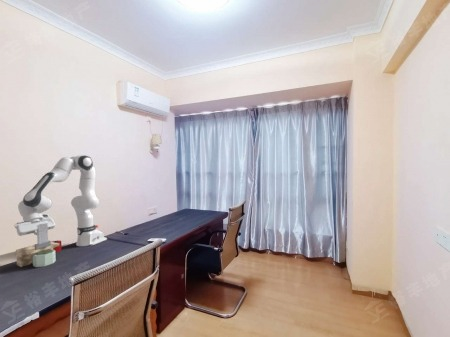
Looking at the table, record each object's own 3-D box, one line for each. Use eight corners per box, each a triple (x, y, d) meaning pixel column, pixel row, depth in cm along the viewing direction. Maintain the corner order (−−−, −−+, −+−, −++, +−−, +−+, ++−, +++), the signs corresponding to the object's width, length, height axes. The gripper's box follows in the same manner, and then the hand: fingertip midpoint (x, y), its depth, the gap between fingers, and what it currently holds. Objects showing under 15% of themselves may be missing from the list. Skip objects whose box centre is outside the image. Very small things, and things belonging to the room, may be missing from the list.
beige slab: (48, 255, 162) (48, 241, 162) (59, 258, 156) (59, 243, 156) (16, 265, 146) (16, 249, 146) (27, 269, 140) (27, 252, 140)
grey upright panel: (49, 245, 153) (48, 222, 153) (50, 245, 152) (50, 222, 152) (34, 249, 145) (34, 225, 145) (36, 249, 144) (35, 225, 144)
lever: (54, 249, 176) (54, 240, 176) (64, 249, 174) (64, 240, 174) (30, 258, 159) (30, 248, 159) (41, 258, 157) (41, 249, 157)
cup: (49, 259, 155) (49, 248, 155) (58, 261, 150) (57, 250, 150) (30, 265, 146) (30, 254, 146) (39, 268, 141) (38, 256, 141)
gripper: (14, 220, 143) (23, 237, 139) (51, 214, 162) (60, 229, 157) (11, 226, 145) (19, 244, 141) (48, 219, 164) (56, 234, 159)
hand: (41, 236), depth 149 cm, fingers closed, pressing on grey upright panel
